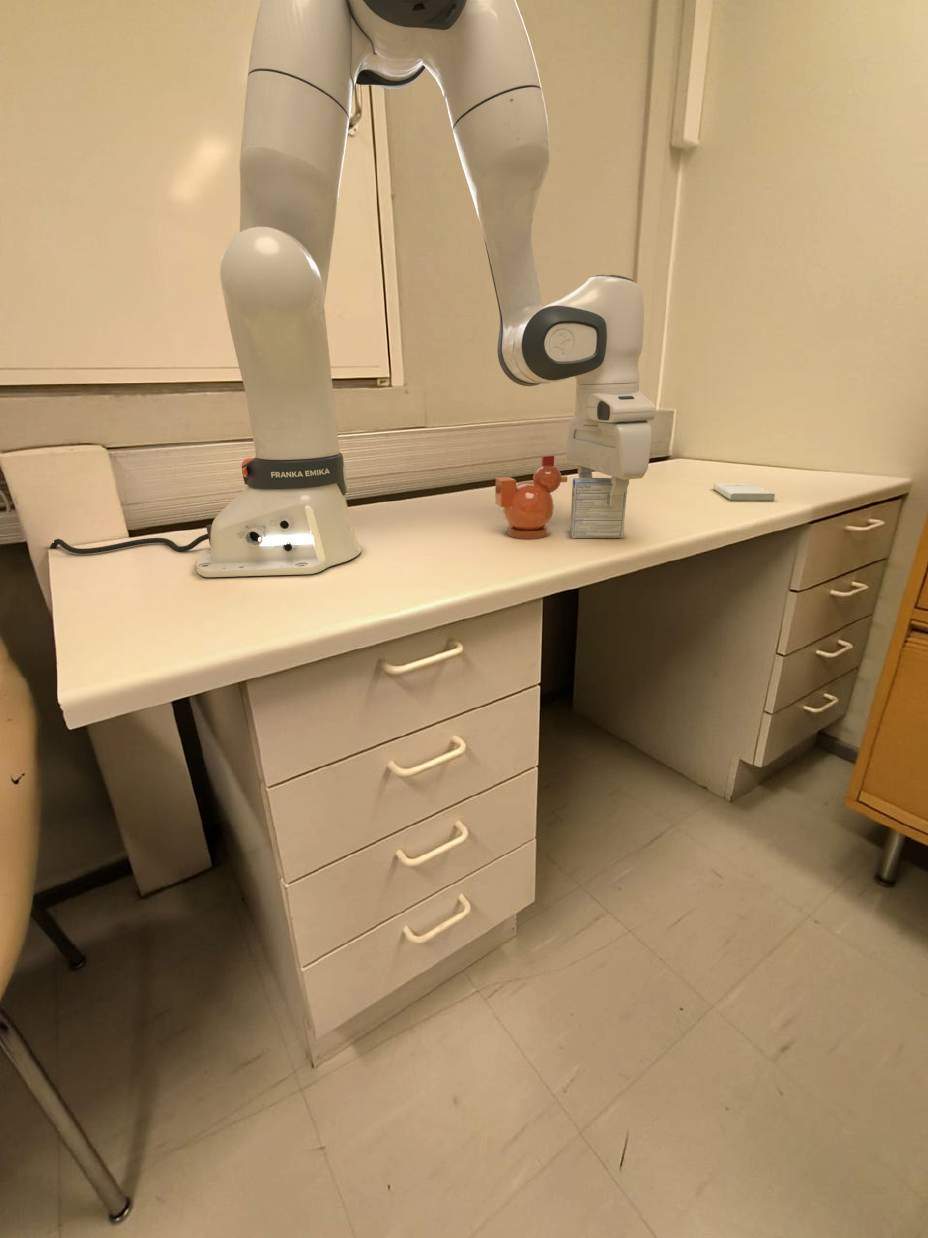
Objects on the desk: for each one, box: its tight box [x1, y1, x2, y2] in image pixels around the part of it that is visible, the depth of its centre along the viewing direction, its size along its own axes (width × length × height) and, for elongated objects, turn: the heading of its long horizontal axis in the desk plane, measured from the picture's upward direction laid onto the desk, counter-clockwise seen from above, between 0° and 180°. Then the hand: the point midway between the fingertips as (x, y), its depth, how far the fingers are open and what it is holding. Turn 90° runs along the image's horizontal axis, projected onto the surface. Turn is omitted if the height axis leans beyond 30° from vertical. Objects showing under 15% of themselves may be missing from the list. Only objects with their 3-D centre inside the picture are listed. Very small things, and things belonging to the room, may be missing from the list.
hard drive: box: [712, 482, 776, 502], centre depth 116 cm, size 2×8×12 cm
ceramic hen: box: [494, 454, 568, 540], centre depth 89 cm, size 11×8×12 cm
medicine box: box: [569, 477, 628, 539], centre depth 88 cm, size 8×4×9 cm, turn 84°
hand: (600, 500), depth 87 cm, fingers open, 8 cm apart
